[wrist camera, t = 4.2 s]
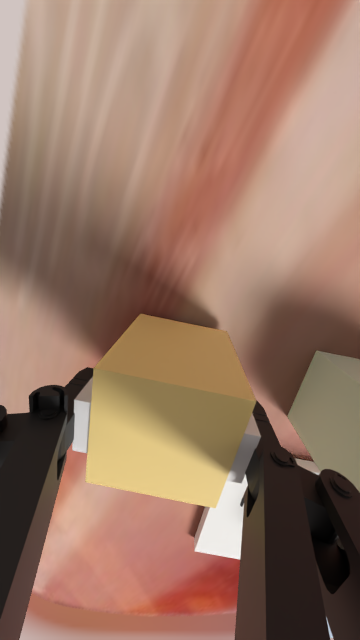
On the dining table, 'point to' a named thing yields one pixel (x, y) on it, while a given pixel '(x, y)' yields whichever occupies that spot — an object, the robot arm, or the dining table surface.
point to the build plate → (230, 521)
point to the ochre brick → (168, 411)
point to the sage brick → (330, 414)
